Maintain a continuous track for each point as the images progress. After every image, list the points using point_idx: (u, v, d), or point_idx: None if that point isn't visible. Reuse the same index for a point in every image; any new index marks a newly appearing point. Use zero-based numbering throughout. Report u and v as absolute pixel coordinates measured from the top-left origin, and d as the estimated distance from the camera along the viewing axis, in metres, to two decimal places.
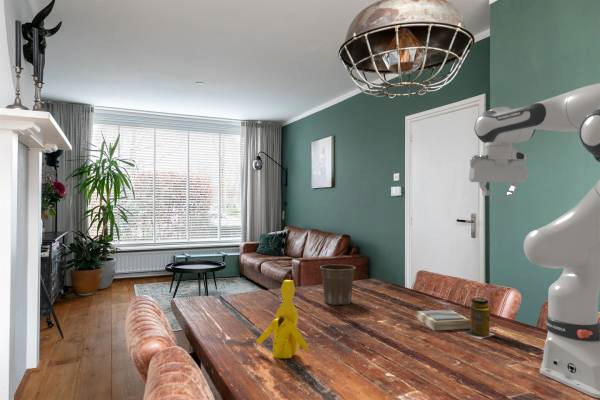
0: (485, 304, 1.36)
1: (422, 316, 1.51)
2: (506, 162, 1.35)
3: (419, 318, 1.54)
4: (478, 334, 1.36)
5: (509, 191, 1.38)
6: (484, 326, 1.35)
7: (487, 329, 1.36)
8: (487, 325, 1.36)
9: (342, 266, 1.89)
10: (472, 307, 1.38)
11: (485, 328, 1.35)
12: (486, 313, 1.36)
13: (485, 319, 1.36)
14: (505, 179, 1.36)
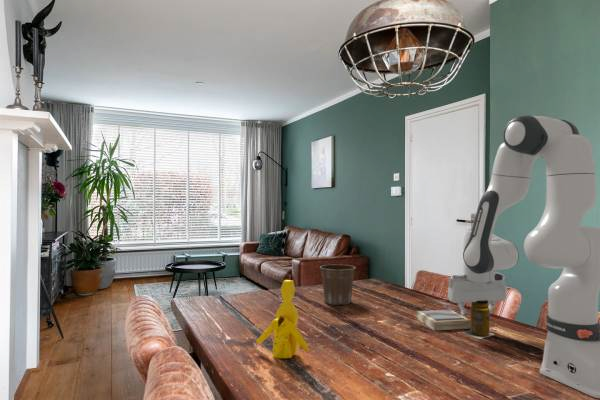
0: (485, 304, 1.36)
1: (422, 316, 1.51)
2: (484, 284, 1.36)
3: (419, 318, 1.54)
4: (478, 334, 1.36)
5: None
6: (484, 326, 1.35)
7: (487, 329, 1.36)
8: (487, 325, 1.36)
9: (342, 266, 1.89)
10: (472, 307, 1.38)
11: (485, 328, 1.35)
12: (486, 313, 1.36)
13: (485, 319, 1.36)
14: (483, 299, 1.37)
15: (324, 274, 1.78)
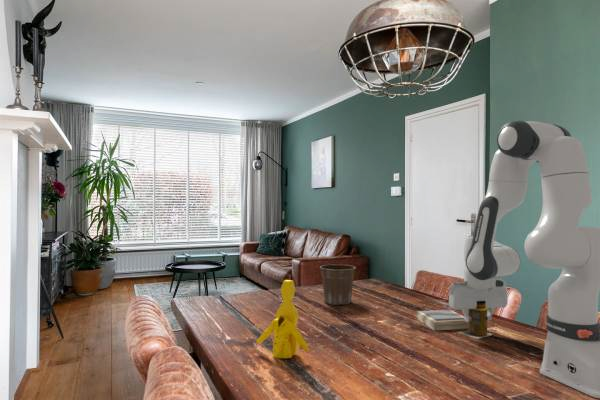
0: (483, 304, 1.36)
1: (422, 316, 1.51)
2: (485, 290, 1.35)
3: (419, 318, 1.54)
4: (476, 334, 1.36)
5: None
6: (482, 326, 1.35)
7: (485, 329, 1.36)
8: (485, 325, 1.36)
9: (342, 266, 1.89)
10: None
11: (483, 328, 1.35)
12: (484, 313, 1.35)
13: (483, 319, 1.35)
14: None
15: (324, 274, 1.78)
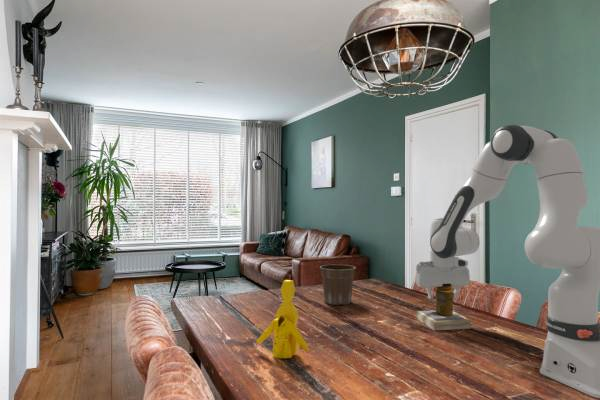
0: (448, 286, 1.48)
1: (422, 316, 1.51)
2: (449, 269, 1.47)
3: (419, 318, 1.54)
4: (442, 314, 1.48)
5: (453, 294, 1.50)
6: (447, 306, 1.47)
7: (450, 309, 1.48)
8: (451, 306, 1.48)
9: (342, 266, 1.89)
10: (437, 289, 1.50)
11: (448, 308, 1.47)
12: (449, 294, 1.47)
13: (448, 300, 1.47)
14: None
15: (324, 274, 1.78)
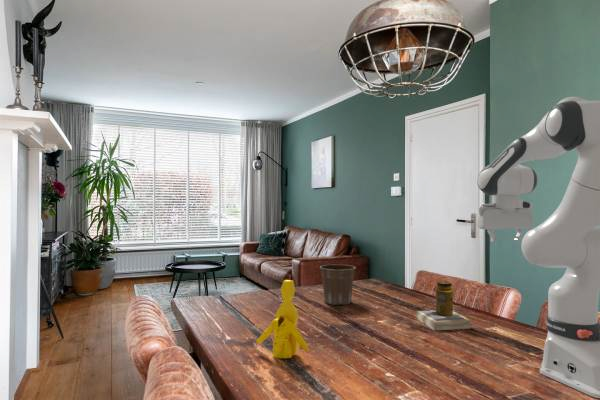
0: (448, 286, 1.48)
1: (422, 316, 1.51)
2: (513, 211, 1.44)
3: (419, 318, 1.54)
4: (442, 314, 1.48)
5: (515, 237, 1.47)
6: (447, 306, 1.47)
7: (450, 309, 1.48)
8: (451, 306, 1.48)
9: (342, 266, 1.89)
10: (437, 289, 1.50)
11: (448, 308, 1.47)
12: (449, 294, 1.47)
13: (448, 300, 1.47)
14: (512, 226, 1.45)
15: (324, 274, 1.78)
